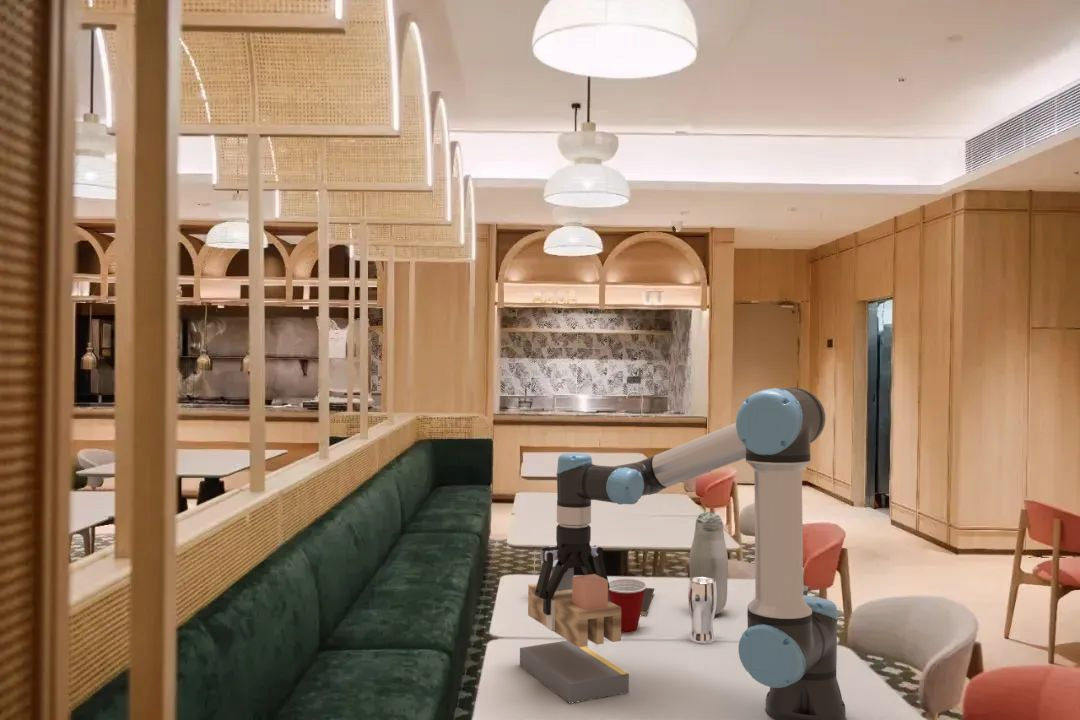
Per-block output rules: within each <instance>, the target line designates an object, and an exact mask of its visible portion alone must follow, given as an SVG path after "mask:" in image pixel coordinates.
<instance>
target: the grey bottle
mask: <svg viewBox="0 0 1080 720" xmlns="http://www.w3.org/2000/svg"><path fill="white" fill-rule="evenodd" d="M694 525H695V528H694V533H693V534H694V535H693V540H692V543H691V547H690V552H689V579H690V578H692V577H709V578H713V579H715V580H716V589H717V603H716V610H715V615H714V616H716V615H718V614H720V613H721V612H722V611H723V610H724V608H725V606H726V604H727V601H728V600H727V599H728V578H729V577H728V575H729V574H728V573H729V558H728V557H729V556H728V555H729V554H728V550H727V545H726V540H725V533H724V522H723V519H722V517H721V516H720V515H719V514H717V513H715V512H711V511H710V512H709V511H706V512H705V511H704V512H702V513H700V514H699V515H698V517H696V520H695V524H694Z"/></svg>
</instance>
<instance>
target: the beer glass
mask: <svg viewBox="0 0 1080 720" xmlns="http://www.w3.org/2000/svg"><path fill="white" fill-rule="evenodd" d="M687 597H688V606H689V607H688V608H689V613H690V620H691V626H690V627H691V629H690V633H689V634H690V635H689V640H690V641H691V642H693V643H695V644H702V645H703V644H704V645H705V644H706V645H707V644H708V645H709V644H712V643H714V642H715V634H714V620H715V616H716V615H715V610H716V603H717V589H716V580H715V579H713V578H709V577H692V578H690V577H689V582H688V596H687Z"/></svg>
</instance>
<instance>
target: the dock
mask: <svg viewBox="0 0 1080 720" xmlns="http://www.w3.org/2000/svg"><path fill="white" fill-rule="evenodd" d="M519 667H521V668H522V669H524V670H525V671H527V672H528V673H529V674H530V675H532V676H533V677H534V678H536V679H537V680H538V681H539V682H541V683H542V684H544V685H545V686H546V687H548V689H550V691H551V690H552V692H554V693H555V694H556V695H557V696H559V695H560V696H561V697H560V696H559V697H560V698H562V699H563V698H564V699H565V700H564V699H563V700H564V701H566V700H567V701H568V702H570V703H572V702H577V701H582V700H587V701H590V700H589V699H592V700H595V699H594V698H598V699H600V698H599V697H603V698H606V697H605V696H608V697H610V696H609V695H613V696H616V695H615V694H618V695H622V694H621V693H623V694H626V693H627V692H629V691H630V689H629V687H630V684H629V683H630V681H629V680H630V673H629V672H628V671H626V670H624V669H622V668H621V667H619V665H616V664H615V663H613V662H611V661H609V660H608V659H606V658H604V656H601V655H600V654H598V653H596V652H595V651H593V650H592V649H590V648H589V647H588V646H585V647H577V646H576V645H574V644H573V643H571V642H570V641H568V640H561V641H555V642H554V641H553V642H548V643H542V644H535V645H529V646H522V647H519ZM627 694H628V693H627ZM567 701H566V702H567ZM568 702H567V703H568ZM582 702H583V701H582ZM570 703H569V704H570ZM577 703H578V702H577ZM572 704H573V703H572Z"/></svg>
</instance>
